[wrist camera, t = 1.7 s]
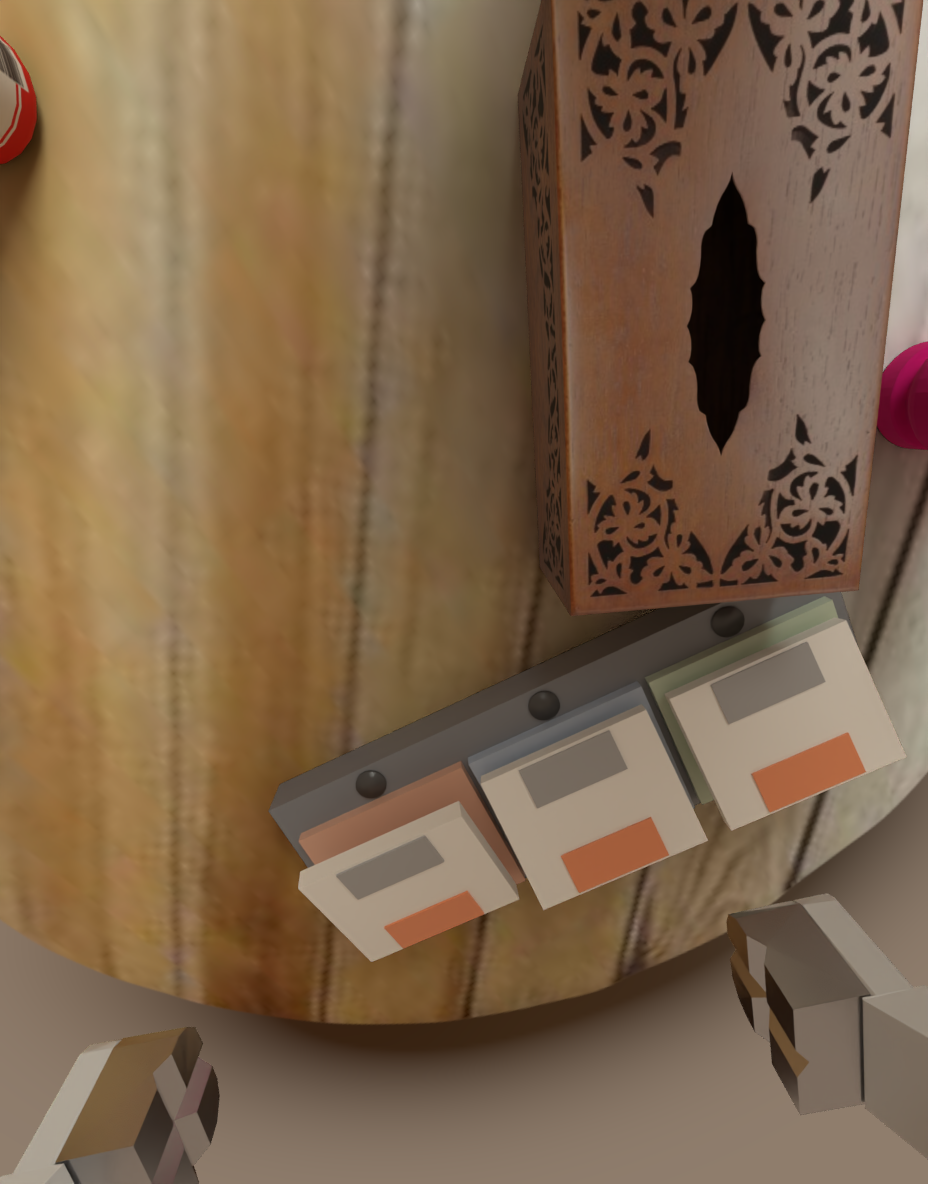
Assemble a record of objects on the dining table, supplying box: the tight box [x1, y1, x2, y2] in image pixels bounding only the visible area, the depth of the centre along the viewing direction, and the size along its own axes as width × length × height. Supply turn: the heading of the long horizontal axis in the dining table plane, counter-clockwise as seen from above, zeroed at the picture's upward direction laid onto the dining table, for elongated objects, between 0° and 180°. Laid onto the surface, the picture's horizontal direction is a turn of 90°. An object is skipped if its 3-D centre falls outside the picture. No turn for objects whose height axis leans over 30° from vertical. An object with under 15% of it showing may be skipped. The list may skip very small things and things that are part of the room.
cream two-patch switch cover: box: [664, 617, 907, 831], centre depth 37 cm, size 11×9×1 cm
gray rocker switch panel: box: [269, 592, 858, 885], centre depth 42 cm, size 39×13×4 cm, turn 116°
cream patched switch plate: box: [298, 801, 519, 962], centre depth 39 cm, size 11×9×1 cm
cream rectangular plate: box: [481, 704, 708, 910], centre depth 38 cm, size 11×9×1 cm
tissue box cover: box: [518, 0, 923, 616], centre depth 31 cm, size 26×14×10 cm, turn 5°
